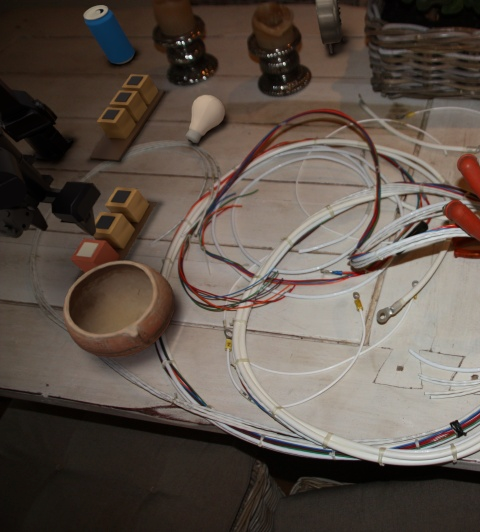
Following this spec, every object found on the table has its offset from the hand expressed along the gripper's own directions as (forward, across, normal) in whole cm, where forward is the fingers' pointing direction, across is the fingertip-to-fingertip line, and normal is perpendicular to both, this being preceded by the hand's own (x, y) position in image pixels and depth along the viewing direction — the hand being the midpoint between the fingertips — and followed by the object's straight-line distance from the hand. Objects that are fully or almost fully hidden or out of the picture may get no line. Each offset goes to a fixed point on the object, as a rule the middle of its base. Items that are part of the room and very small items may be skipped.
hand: (69, 231), depth 89 cm
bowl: (+10, +12, -10) cm, 19 cm away
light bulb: (+10, +5, +36) cm, 38 cm away
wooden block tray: (+10, 0, +6) cm, 12 cm away
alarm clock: (+11, +25, +67) cm, 72 cm away
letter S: (+10, 0, 0) cm, 10 cm away
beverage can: (+11, -28, +59) cm, 66 cm away
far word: (+10, -14, +36) cm, 40 cm away
